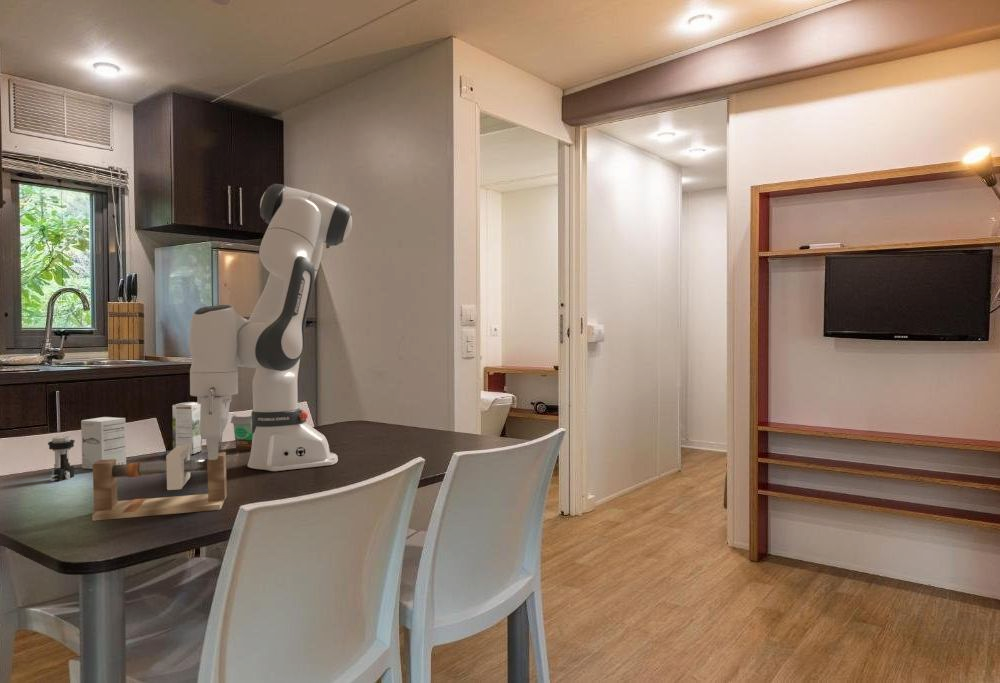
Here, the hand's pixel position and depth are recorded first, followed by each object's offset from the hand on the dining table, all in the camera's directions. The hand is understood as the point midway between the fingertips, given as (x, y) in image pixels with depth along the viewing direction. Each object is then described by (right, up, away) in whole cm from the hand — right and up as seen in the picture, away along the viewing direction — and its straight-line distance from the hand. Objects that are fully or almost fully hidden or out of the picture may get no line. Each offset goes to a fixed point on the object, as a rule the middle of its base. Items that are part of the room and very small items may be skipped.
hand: (215, 454), depth 133 cm
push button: (-48, -10, +25) cm, 55 cm away
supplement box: (-46, -10, +39) cm, 61 cm away
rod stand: (-9, -10, -2) cm, 14 cm away
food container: (-17, -9, +61) cm, 64 cm away
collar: (-6, -5, -1) cm, 9 cm away
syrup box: (-32, -10, +56) cm, 65 cm away
